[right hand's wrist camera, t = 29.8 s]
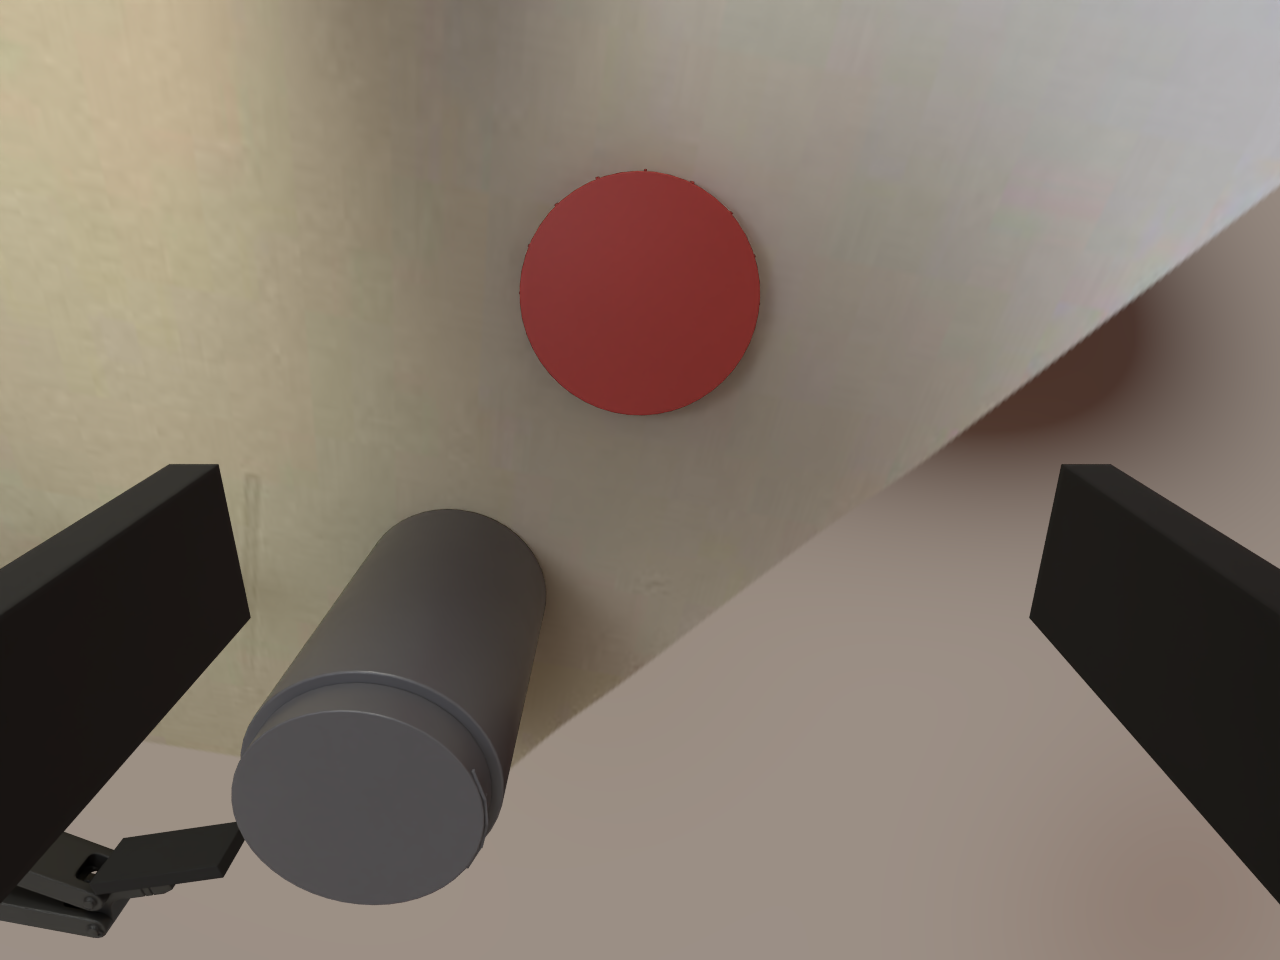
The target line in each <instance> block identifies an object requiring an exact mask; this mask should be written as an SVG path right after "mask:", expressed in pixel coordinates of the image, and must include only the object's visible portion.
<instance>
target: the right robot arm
mask: <svg viewBox="0 0 1280 960" xmlns="http://www.w3.org/2000/svg"><path fill="white" fill-rule="evenodd" d="M250 618H251V617H250V612H249V607H248V603H247V598H246V593H245V588H244V584H243V579H242V574H241V569H240V564H239V560H238V555H237V550H236V545H235V541H234V536H233V531H232V526H231V522H230V517H229V512H228V507H227V502H226V498H225V493H224V488H223V483H222V479H221V474H220V469H219V464H169V465H167V466H166V467H164V468H163V469H161V470H159V471H158V472H156V473H154V474H153V475H151V476H150V477H148V478H146V479H145V480H143V481H142V482H140V483H138V484H137V485H135V486H134V487H132V488H130V489H129V490H127V491H125V492H124V493H122V494H121V495H119V496H117V497H116V498H114V499H113V500H111V501H109V502H108V503H106V504H104V505H103V506H101V507H100V508H98V509H96V510H95V511H93V512H92V513H90V514H88V515H87V516H85V517H83V518H82V519H80V520H79V521H77V522H75V523H74V524H72V525H71V526H69V527H67V528H66V529H64V530H63V531H61V532H59V533H58V534H56V535H54V536H53V537H51V538H50V539H48V540H46V541H45V542H43V543H42V544H40V545H38V546H37V547H35V548H33V549H32V550H30V551H29V552H27V553H25V554H24V555H22V556H21V557H19V558H17V559H16V560H14V561H13V562H11V563H9V564H8V565H6V566H4V567H3V568H1V569H0V904H1V903H2V902H3V900H4V899H5V898H6V897H7V896H8V895H9V894H10V892H11V891H12V890H13V889H14V888H15V887H16V886H17V884H18V883H19V882H20V881H21V880H22V879H23V878H24V876H25V875H26V874H27V873H28V872H29V871H30V870H31V868H32V867H33V866H34V865H35V864H36V863H37V862H38V860H39V859H40V858H41V857H42V856H43V855H44V854H45V852H46V851H47V850H48V849H49V848H50V847H51V846H52V844H53V843H54V842H55V841H56V840H57V839H58V838H59V836H60V835H61V834H62V833H63V832H64V831H65V829H66V828H67V827H68V826H69V825H70V824H71V823H72V822H73V820H74V819H75V818H76V817H77V816H78V815H79V813H80V812H81V811H82V810H83V809H84V808H85V807H86V805H87V804H88V803H89V802H90V801H91V800H92V799H93V797H94V796H95V795H96V794H97V793H98V792H99V791H100V789H101V788H102V787H103V786H104V785H105V784H106V783H107V781H108V780H109V779H110V778H111V777H112V776H113V775H114V773H115V772H116V771H117V770H118V769H119V768H120V767H121V765H122V764H123V763H124V762H125V761H126V760H127V759H128V757H129V756H130V755H131V754H132V753H133V752H134V751H135V749H136V748H137V747H138V746H139V745H140V744H141V743H142V741H143V740H144V739H145V738H146V737H147V736H148V735H149V733H150V732H151V731H152V730H153V729H154V728H155V727H156V725H157V724H158V723H159V722H160V721H161V720H162V719H163V717H164V716H165V715H166V714H167V713H168V712H169V711H170V709H171V708H172V707H173V706H174V705H175V704H176V703H177V701H178V700H179V699H180V698H181V697H182V696H183V695H184V693H185V692H186V691H187V690H188V689H189V688H190V687H191V685H192V684H193V683H194V682H195V681H196V680H197V679H198V677H199V676H200V675H201V674H202V673H203V672H204V671H205V669H206V668H207V667H208V666H209V665H210V664H211V663H212V661H213V660H214V659H215V658H216V657H217V656H218V655H219V653H220V652H221V651H222V650H223V649H224V648H225V647H226V645H227V644H228V643H229V642H230V641H231V640H232V639H233V637H234V636H235V635H236V634H237V633H238V632H239V631H240V629H241V628H242V627H243V626H244V625H245V624H246V623H247V621H248V620H249V619H250ZM1029 618H1030V619H1031V620H1032V621H1033V623H1034V624H1035V625H1036V626H1037V627H1038V628H1039V629H1040V631H1041V632H1042V633H1043V634H1044V635H1045V636H1046V637H1047V639H1048V640H1049V641H1050V642H1051V643H1052V644H1053V645H1054V647H1055V648H1056V649H1057V650H1058V651H1059V652H1060V653H1061V655H1062V656H1063V657H1064V658H1065V659H1066V660H1067V661H1068V663H1069V664H1070V665H1071V666H1072V667H1073V668H1074V669H1075V671H1076V672H1077V673H1078V674H1079V675H1080V676H1081V677H1082V679H1083V680H1084V681H1085V682H1086V683H1087V684H1088V685H1089V687H1090V688H1091V689H1092V690H1093V691H1094V692H1095V693H1096V695H1097V696H1098V697H1099V698H1100V699H1101V700H1102V701H1103V703H1104V704H1105V705H1106V706H1107V707H1108V708H1109V709H1110V711H1111V712H1112V713H1113V714H1114V715H1115V716H1116V717H1117V719H1118V720H1119V721H1120V722H1121V723H1122V724H1123V725H1124V727H1125V728H1126V729H1127V730H1128V731H1129V732H1130V733H1131V735H1132V736H1133V737H1134V738H1135V739H1136V740H1137V741H1138V743H1139V744H1140V745H1141V746H1142V747H1143V748H1144V749H1145V751H1146V752H1147V753H1148V754H1149V755H1150V756H1151V757H1152V759H1153V760H1154V761H1155V762H1156V763H1157V764H1158V765H1159V767H1160V768H1161V769H1162V770H1163V771H1164V772H1165V773H1166V775H1167V776H1168V777H1169V778H1170V779H1171V780H1172V781H1173V783H1174V784H1175V785H1176V786H1177V787H1178V788H1179V789H1180V791H1181V792H1182V793H1183V794H1184V795H1185V796H1186V797H1187V799H1188V800H1189V801H1190V802H1191V803H1192V804H1193V805H1194V807H1195V808H1196V809H1197V810H1198V811H1199V812H1200V813H1201V815H1202V816H1203V817H1204V818H1205V819H1206V820H1207V821H1208V823H1209V824H1210V825H1211V826H1212V827H1213V828H1214V830H1215V831H1216V832H1217V833H1218V834H1219V835H1220V836H1221V837H1222V839H1223V840H1224V841H1225V842H1226V843H1227V844H1228V846H1229V847H1230V848H1231V849H1232V850H1233V851H1234V852H1235V853H1236V855H1237V856H1238V857H1239V858H1240V859H1241V860H1242V862H1243V863H1244V864H1245V865H1246V866H1247V867H1248V868H1249V869H1250V871H1251V872H1252V873H1253V874H1254V875H1255V876H1256V878H1257V879H1258V880H1259V881H1260V882H1261V883H1262V884H1263V886H1264V887H1265V888H1266V889H1267V890H1268V891H1269V892H1270V894H1271V895H1272V896H1273V897H1274V898H1275V899H1276V900H1277V902H1278V903H1279V904H1280V569H1279V568H1277V567H1276V566H1274V565H1272V564H1271V563H1269V562H1267V561H1266V560H1264V559H1263V558H1261V557H1259V556H1258V555H1256V554H1255V553H1253V552H1251V551H1250V550H1248V549H1246V548H1245V547H1243V546H1242V545H1240V544H1238V543H1237V542H1235V541H1234V540H1232V539H1230V538H1229V537H1227V536H1226V535H1224V534H1222V533H1221V532H1219V531H1217V530H1216V529H1214V528H1213V527H1211V526H1209V525H1208V524H1206V523H1205V522H1203V521H1201V520H1200V519H1198V518H1197V517H1195V516H1193V515H1192V514H1190V513H1188V512H1187V511H1185V510H1184V509H1182V508H1180V507H1179V506H1177V505H1175V504H1174V503H1172V502H1171V501H1169V500H1167V499H1166V498H1164V497H1163V496H1161V495H1159V494H1158V493H1156V492H1154V491H1153V490H1151V489H1150V488H1148V487H1146V486H1145V485H1143V484H1142V483H1140V482H1138V481H1137V480H1135V479H1134V478H1132V477H1130V476H1129V475H1127V474H1125V473H1124V472H1122V471H1121V470H1119V469H1117V468H1116V467H1114V466H1113V465H1111V464H1062V465H1061V469H1060V474H1059V479H1058V484H1057V488H1056V493H1055V498H1054V503H1053V507H1052V512H1051V517H1050V522H1049V527H1048V531H1047V536H1046V541H1045V545H1044V550H1043V555H1042V560H1041V564H1040V569H1039V574H1038V579H1037V584H1036V588H1035V593H1034V598H1033V603H1032V607H1031V612H1030V617H1029Z"/></svg>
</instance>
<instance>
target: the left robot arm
mask: <svg viewBox="0 0 1280 960" xmlns="http://www.w3.org/2000/svg"><path fill="white" fill-rule="evenodd" d="M244 840H245V839H244V837H243V835H242V834H241V832H240V830H239V828H238V825H237V822H232V823H225V824H218V825H211V826H205V827H197V828H190V829H184V830H177V831H170V832H163V833H156V834H149V835H142V836H135V837H128V838H123V839H122V841H121V842H120V843H119V844H118V846H117V847H116V848H115V850H112V849H109V848H107V847H104V846H101V845H99V844H96V843H93V842H90V841H88V840H85V839H82V838H80V837H77V836H74V835H71V834H68V833H66V832H63V833H62V834H61V835H60V836H59V838H58V839H57V840H56V841H55V842H54V843H53V844H52V846H51V847H50V848H49V849H48V850H47V851H46V852H45V854H44V855H43V856H42V857H41V858H40V859H39V860H38V862H37V863H36V864H35V865H34V866H33V867H32V868H31V870H30V871H29V872H28V873H27V874H26V875H25V876H24V878H23V879H22V880H21V881H20V882H19V883H18V884H17V886H16V887H15V888H14V889H13V890H12V891H11V892H10V894H9V895H8V896H7V897H6V898H5V899H4V900H3V902H2V903H1V904H0V920H1V921H6V922H12V923H17V924H23V925H28V926H34V927H39V928H44V929H50V930H55V931H61V932H66V933H71V934H77V935H82V936H88V937H93V938H100V937H103V936H104V935H106V933H107V932H108V930H109V929H110V927H111V926H112V924H113V923H114V921H115V920H116V919H117V917H118V916H119V914H120V913H121V911H122V910H123V908H124V907H125V905H126V904H127V902H128V901H129V899H130V898H135V897H143V896H145V895H146V896H150V895H153V894H154V895H157V894H164V893H166V892H168V891H170V890H172V889H173V887H174V886H175V884H180V883H187V882H194V881H201V880H208V879H215V878H223V877H224V875H225V874H226V872H227V870H228V868H229V867H230V865H231V863H232V861H233V859H234V858H235V856H236V854H237V853H238V851H239V849H240V847H241V846H242V844H243V842H244ZM94 871H97V873H96V874H93V873H91V872H94Z"/></svg>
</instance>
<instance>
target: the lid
mask: <svg viewBox="0 0 1280 960" xmlns="http://www.w3.org/2000/svg"><path fill="white" fill-rule="evenodd" d="M694 183H695V182H693V181H691V182H688V181H686V180H684V179H681V178H678V177H675V176H672V175H668V174H663V173H658V172H649V171H647V169H644V171H631V172H621V173H616V174H612V175H608V176H604V177H601V178H599V177H596V180H594V181H591V182H589V183H587V184H585V185H583V186H582V187H580V188H578V189H576V190H575V191H573V192H572V193H571V194H569V195H568V196H567V197H565V198H564V199H563V200H561V201H560V202H559V203H556V204H555V207H554V208H553V209H552V210H551V211H550V213H549V214H548V215H547V217H546V218H545V219H544V220H543V222H542V223H541V224H540V226H539V228H538V229H537V231H536V233H535V235H534V237H533V238H532V240H531V243H530V244H529V245H528V247H529V248H528V250H527V253H526V256H525V260H524V264H523V267H522V273H521V281H520V292H519V294H520V306H521V313H522V319H523V323H524V326H525V330H526V334H527V336H528V339H529V341H530V343H531V346H532V348H533V350H534V351H535V353H536V355H537V357H538V358H539V360H540V362H541V363H542V364H543V366H544V367H545V368H546V370H547V371H548V372H549V374H550V375H551V376H552V377H553V378H554V379H555V380H556V381H557V382H558V383H559V384H560V385H561V386H563V387H564V388H565V389H566V390H568V391H569V392H570V393H571V394H573V395H575V396H576V397H578V398H580V399H581V400H583V401H584V402H587V403H589V404H591V405H593V406H596V407H598V408H601V409H604V410H607V411H611V412H615V413H621V414H627V415H651V414H660V413H664V412H669V411H673V410H676V409H679V408H682V407H684V406H687V405H689V404H691V403H693V402H695V401H697V400H699V399H701V398H702V397H704V396H705V395H707V394H708V393H710V392H711V391H712V390H714V389H715V388H716V387H717V386H718V385H719V384H720V383H722V382H723V381H724V380H725V379H726V378H727V376H728V375H729V374H730V373H731V372H732V371H733V370H734V368H735V367H736V365H737V364H738V363H739V361H740V360H741V358H742V357H743V355H744V353H745V351H746V349H747V347H748V345H749V343H750V341H751V338H752V335H753V332H754V330H755V326H756V322H757V317H758V313H759V305H760V281H759V275H758V269H757V264H756V261H755V255H754V254H753V251H752V248H751V246H750V244H749V241H748V239H747V237H746V235H745V233H744V232H743V230H742V228H741V227H740V225H739V224H738V222H737V220H736V219H735V218H734V217H733V216H732V214H733V213H732V212H730V211H728V210H727V208H726V207H724V206H723V205H722V204H721V203H720V202H719V201H718V200H717V199H716V198H715V197H713V196H712V195H710V194H709V193H708V192H706V191H705V190H703V189H702V188H700V187H698V186H696V185H694Z"/></svg>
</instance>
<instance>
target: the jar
mask: <svg viewBox="0 0 1280 960" xmlns="http://www.w3.org/2000/svg"><path fill="white" fill-rule="evenodd" d="M545 604H546V588H545V581H544V577H543V574H542V571H541V568H540V566H539V564H538V561H537V560H536V558H535V556H534V555H533V553H532V551H531V550H530V549H529V548H528V546H527V545H526V544H525V543H524V542H523V541H522V540H521V539H520V538H519V537H518V536H517V535H516V534H515V533H514V532H512V531H511V530H510V529H508V528H507V527H505V526H504V525H502V524H500V523H499V522H497V521H495V520H493V519H490V518H488V517H486V516H483V515H480V514H477V513H473V512H468V511H463V510H450V509H446V510H433V511H428V512H423V513H420V514H417V515H414V516H411V517H409V518H407V519H405V520H403V521H401V522H399V523H398V524H396V525H395V526H393V527H392V528H391V529H390V530H389V531H388V532H386V533H385V534H384V535H383V537H382V538H381V539H380V540H379V541H378V542H377V544H376V545H375V547H374V548H373V550H372V551H371V552H370V554H369V555H368V557H367V558H366V559H365V561H364V562H363V564H362V565H361V566H360V568H359V569H358V571H357V572H356V573H355V575H354V576H353V578H352V579H351V581H350V582H349V583H348V585H347V586H346V588H345V589H344V590H343V592H342V593H341V595H340V596H339V597H338V599H337V600H336V602H335V603H334V604H333V606H332V607H331V609H330V610H329V612H328V613H327V614H326V616H325V617H324V619H323V620H322V621H321V623H320V624H319V626H318V627H317V628H316V630H315V631H314V633H313V634H312V635H311V637H310V638H309V640H308V641H307V643H306V644H305V645H304V647H303V648H302V650H301V651H300V652H299V654H298V655H297V657H296V658H295V659H294V661H293V662H292V664H291V665H290V666H289V668H288V669H287V671H286V672H285V674H284V675H283V676H282V678H281V679H280V681H279V682H278V683H277V685H276V686H275V688H274V689H273V690H272V692H271V693H270V695H269V696H268V697H267V699H266V700H265V702H264V703H263V705H262V706H261V707H260V709H259V710H258V712H257V713H256V714H255V716H254V718H253V719H252V721H251V723H250V724H249V726H248V729H247V731H246V734H245V736H244V739H243V744H242V749H241V760H240V761H239V763H238V766H237V769H236V771H235V774H234V778H233V784H232V806H233V812H234V816H235V819H236V822H237V825H238V828H239V830H240V832H241V834H242V835H243V837H244V839H245V841H246V842H247V844H248V845H249V846H250V848H251V849H252V851H253V852H254V853H255V854H256V855H257V856H258V857H259V858H260V860H261V861H262V862H264V863H265V864H266V865H267V866H268V867H269V868H270V869H271V870H273V871H274V872H275V873H277V874H278V875H280V876H281V877H282V878H284V879H285V880H287V881H289V882H291V883H292V884H294V885H296V886H298V887H300V888H302V889H304V890H306V891H308V892H311V893H313V894H316V895H319V896H322V897H325V898H328V899H332V900H336V901H341V902H346V903H353V904H363V905H385V904H395V903H401V902H406V901H410V900H414V899H418V898H421V897H423V896H426V895H428V894H431V893H433V892H435V891H437V890H439V889H441V888H443V887H444V886H446V885H447V884H449V883H450V882H451V881H453V880H454V879H455V878H456V877H457V876H458V875H460V874H461V873H462V872H463V871H464V870H465V869H466V868H469V866H470V865H471V863H472V862H473V860H474V859H475V857H476V856H477V854H478V852H479V851H480V849H481V848H482V847H483V844H484V840H485V837H486V836H487V834H488V833H489V832H490V831H491V829H492V827H493V825H494V824H495V822H496V820H497V818H498V815H499V812H500V810H501V807H502V803H503V798H504V793H505V789H506V784H507V780H508V775H509V771H510V766H511V761H512V757H513V752H514V748H515V743H516V739H517V734H518V729H519V725H520V720H521V716H522V711H523V706H524V702H525V697H526V693H527V688H528V684H529V679H530V674H531V670H532V665H533V661H534V656H535V651H536V647H537V642H538V638H539V633H540V629H541V624H542V619H543V615H544V610H545Z"/></svg>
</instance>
